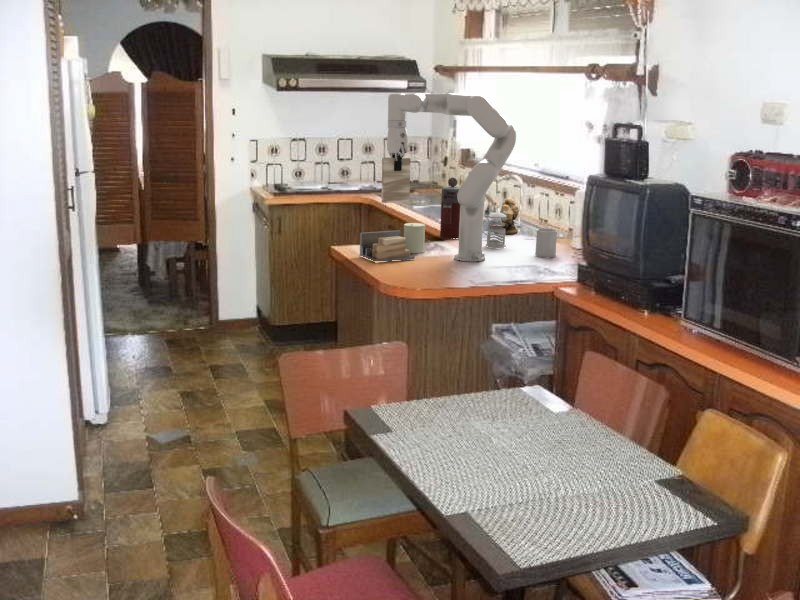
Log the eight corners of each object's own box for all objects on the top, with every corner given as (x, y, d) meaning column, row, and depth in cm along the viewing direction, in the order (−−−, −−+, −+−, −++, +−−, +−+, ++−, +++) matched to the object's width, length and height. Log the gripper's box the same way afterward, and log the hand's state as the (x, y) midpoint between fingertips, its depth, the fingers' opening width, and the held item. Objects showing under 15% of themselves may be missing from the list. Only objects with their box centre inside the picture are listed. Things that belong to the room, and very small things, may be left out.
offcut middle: (405, 250, 362) (405, 244, 361) (378, 252, 356) (378, 246, 356) (398, 248, 367) (399, 242, 366) (372, 250, 361) (372, 243, 361)
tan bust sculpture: (492, 228, 446) (494, 194, 442) (516, 229, 445) (518, 195, 441) (493, 234, 428) (495, 199, 424) (518, 235, 428) (520, 200, 424)
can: (399, 251, 380) (399, 223, 378) (409, 248, 388) (409, 221, 386) (418, 254, 376) (419, 225, 373) (428, 250, 384) (429, 223, 381)
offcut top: (405, 244, 362) (405, 237, 362) (385, 246, 356) (385, 240, 356) (398, 242, 366) (398, 236, 365) (378, 244, 360) (378, 238, 360)
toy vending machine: (439, 238, 413) (441, 178, 407) (443, 235, 424) (445, 175, 417) (458, 240, 411) (460, 179, 405) (461, 236, 422) (464, 176, 415)
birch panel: (409, 201, 371) (410, 158, 367) (383, 203, 366) (384, 158, 362) (407, 201, 373) (408, 157, 369) (381, 202, 368) (382, 158, 363)
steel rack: (414, 260, 364) (415, 235, 361) (375, 263, 355) (375, 238, 353) (398, 253, 376) (399, 230, 373) (359, 256, 367) (360, 232, 365)
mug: (553, 258, 374) (555, 232, 371) (533, 256, 377) (534, 230, 374) (558, 253, 385) (560, 228, 382) (539, 251, 388) (540, 226, 385)
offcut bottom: (409, 256, 363) (409, 250, 362) (378, 258, 357) (378, 252, 356) (402, 253, 368) (402, 247, 368) (372, 256, 362) (372, 250, 361)
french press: (507, 248, 393) (510, 192, 387) (481, 248, 393) (484, 191, 387) (505, 244, 402) (508, 189, 396) (480, 244, 403) (482, 188, 397)
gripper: (414, 125, 357) (413, 172, 361) (396, 123, 370) (395, 168, 375) (398, 125, 353) (397, 172, 358) (379, 123, 367) (379, 169, 371)
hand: (396, 170), depth 366 cm, fingers closed on birch panel, 2 cm apart
